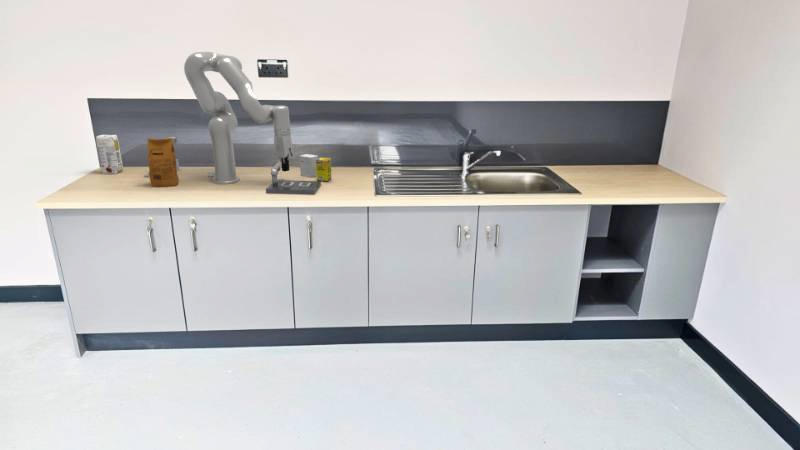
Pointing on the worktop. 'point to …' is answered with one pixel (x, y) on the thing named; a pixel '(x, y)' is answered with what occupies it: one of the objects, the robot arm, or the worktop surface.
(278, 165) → the cable arm
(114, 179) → the worktop surface
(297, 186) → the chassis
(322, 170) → the supplement box
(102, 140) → the white flour bag
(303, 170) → the small box
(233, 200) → the worktop surface
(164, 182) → the coffee package
